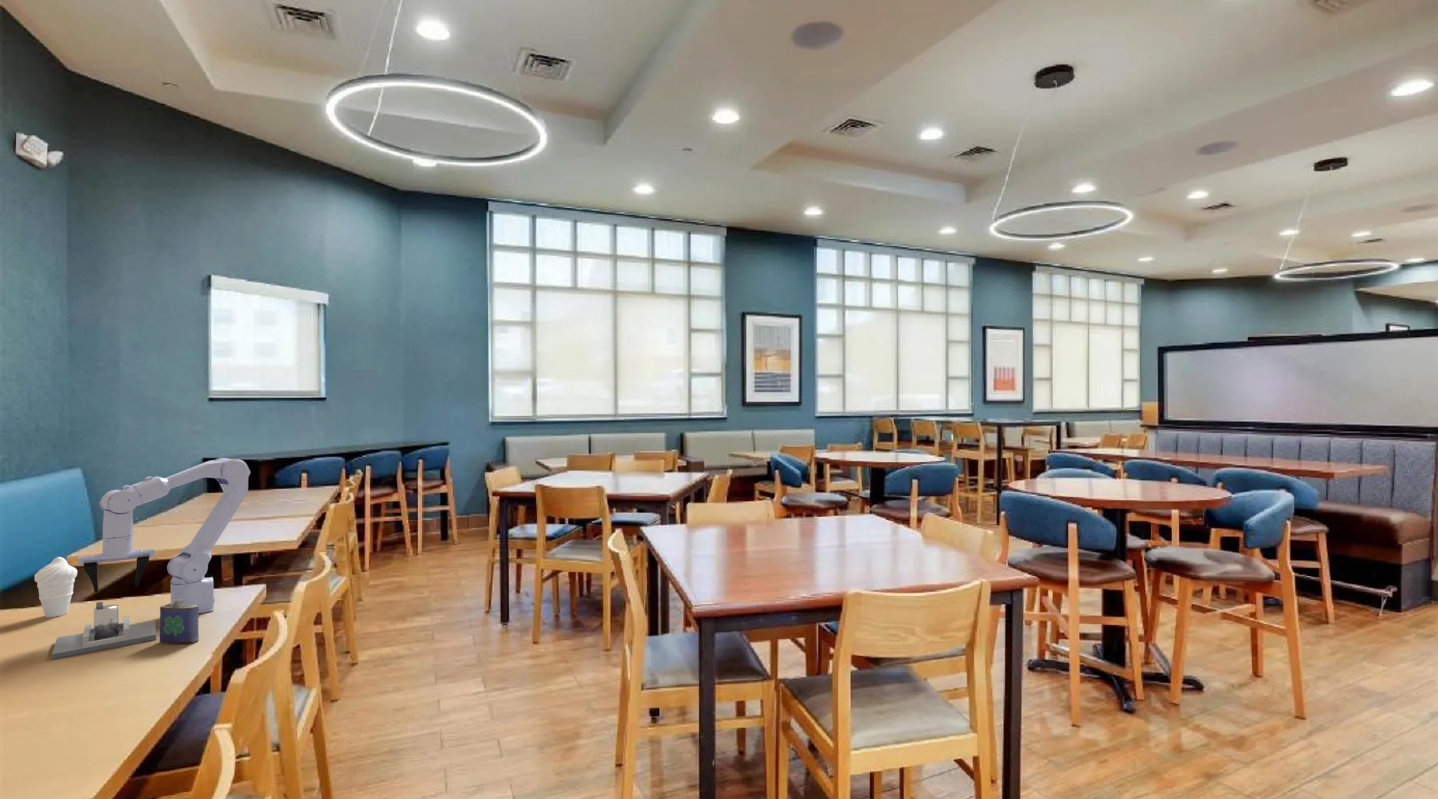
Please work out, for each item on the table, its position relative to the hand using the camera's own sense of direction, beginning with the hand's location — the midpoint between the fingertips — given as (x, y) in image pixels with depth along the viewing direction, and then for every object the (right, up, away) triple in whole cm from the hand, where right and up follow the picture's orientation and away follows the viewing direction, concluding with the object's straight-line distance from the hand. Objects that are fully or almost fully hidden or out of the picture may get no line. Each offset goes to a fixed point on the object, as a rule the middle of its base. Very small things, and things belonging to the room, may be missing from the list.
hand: (116, 588), depth 166 cm
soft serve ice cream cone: (-27, -11, +11) cm, 31 cm away
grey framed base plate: (+6, -10, -8) cm, 14 cm away
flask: (+24, -11, -9) cm, 28 cm away
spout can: (+5, -9, -8) cm, 13 cm away
